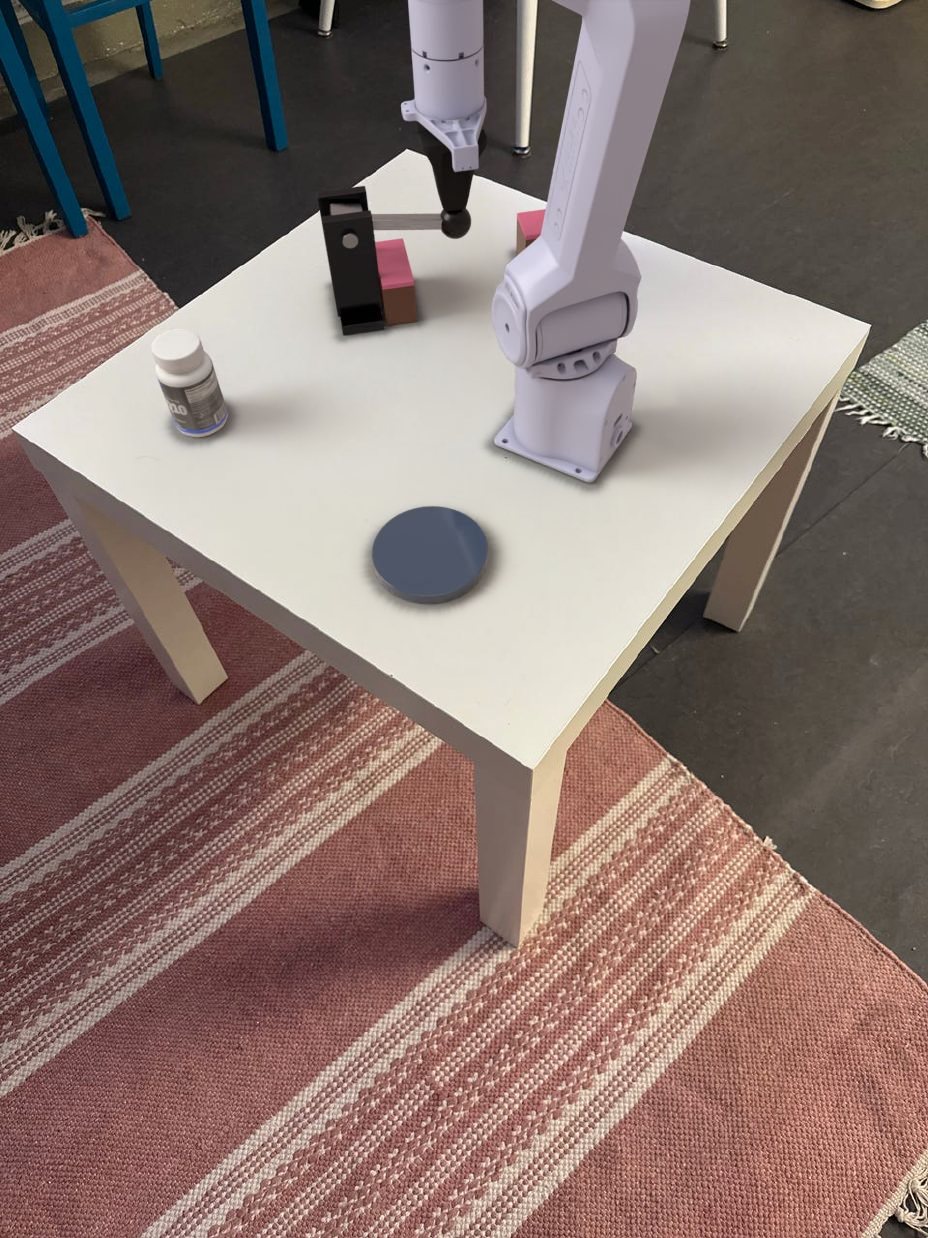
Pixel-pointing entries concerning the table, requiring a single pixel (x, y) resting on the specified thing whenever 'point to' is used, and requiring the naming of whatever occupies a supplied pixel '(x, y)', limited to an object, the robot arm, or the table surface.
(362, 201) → the bracket
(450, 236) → the lever
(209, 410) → the pill bottle
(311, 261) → the table surface
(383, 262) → the loaf cake
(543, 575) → the table surface
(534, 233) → the cake slice
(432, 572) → the plate
